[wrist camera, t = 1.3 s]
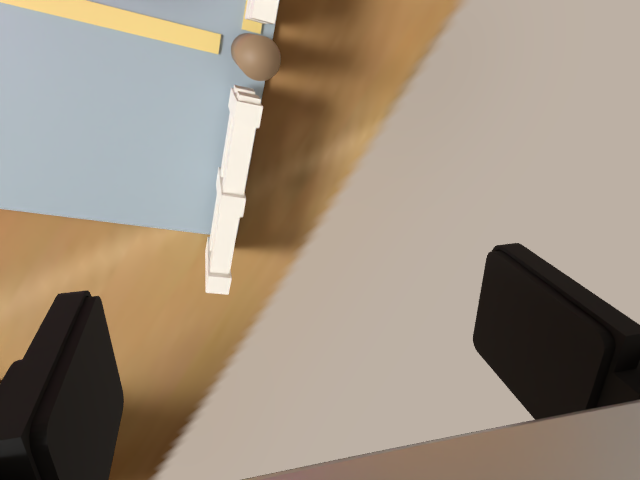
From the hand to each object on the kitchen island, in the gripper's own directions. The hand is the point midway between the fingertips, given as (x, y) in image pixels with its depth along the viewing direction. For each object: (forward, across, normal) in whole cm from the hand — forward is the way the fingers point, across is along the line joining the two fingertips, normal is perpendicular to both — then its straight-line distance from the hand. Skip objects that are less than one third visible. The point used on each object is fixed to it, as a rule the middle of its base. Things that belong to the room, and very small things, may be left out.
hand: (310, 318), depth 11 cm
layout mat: (+18, +8, -4) cm, 20 cm away
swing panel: (+18, +1, +1) cm, 18 cm away
